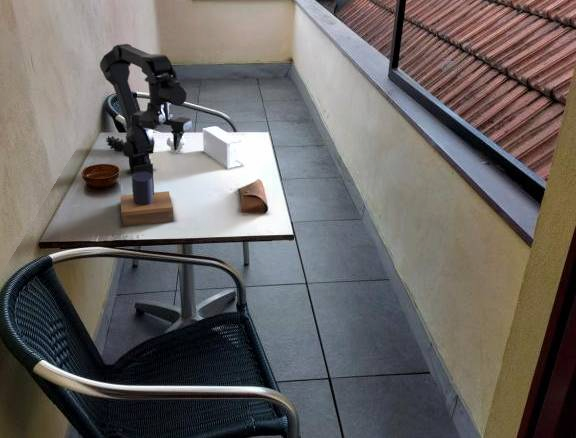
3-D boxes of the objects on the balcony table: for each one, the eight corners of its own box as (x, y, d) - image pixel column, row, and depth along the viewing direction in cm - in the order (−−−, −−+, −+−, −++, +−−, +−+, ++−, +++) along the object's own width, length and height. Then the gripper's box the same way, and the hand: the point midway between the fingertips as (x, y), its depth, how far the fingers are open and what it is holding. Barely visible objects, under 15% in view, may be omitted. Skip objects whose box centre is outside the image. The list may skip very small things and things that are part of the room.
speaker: (134, 193, 160) (132, 162, 155) (154, 194, 161) (153, 162, 156) (132, 207, 154) (130, 175, 148) (153, 207, 155) (151, 175, 149)
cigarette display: (241, 165, 195) (241, 140, 190) (227, 168, 192) (227, 143, 188) (215, 148, 209) (214, 125, 205) (202, 151, 206) (201, 127, 202)
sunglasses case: (236, 187, 176) (246, 171, 174) (254, 197, 179) (265, 181, 177) (240, 213, 161) (251, 195, 159) (260, 223, 163) (272, 205, 161)
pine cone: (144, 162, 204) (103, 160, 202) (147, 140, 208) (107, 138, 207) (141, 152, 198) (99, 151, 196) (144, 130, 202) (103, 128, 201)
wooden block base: (121, 203, 165) (119, 189, 163) (168, 199, 169) (167, 185, 167) (123, 226, 152) (121, 212, 150) (173, 221, 156) (172, 207, 154)
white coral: (171, 156, 200) (170, 141, 197) (164, 149, 206) (163, 134, 203) (188, 154, 203) (188, 138, 200) (181, 147, 209) (180, 132, 206)
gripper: (116, 101, 161) (122, 151, 168) (171, 109, 155) (175, 160, 162) (139, 92, 170) (143, 140, 177) (191, 100, 164) (194, 149, 172)
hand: (163, 147), depth 172 cm, fingers open, 9 cm apart
